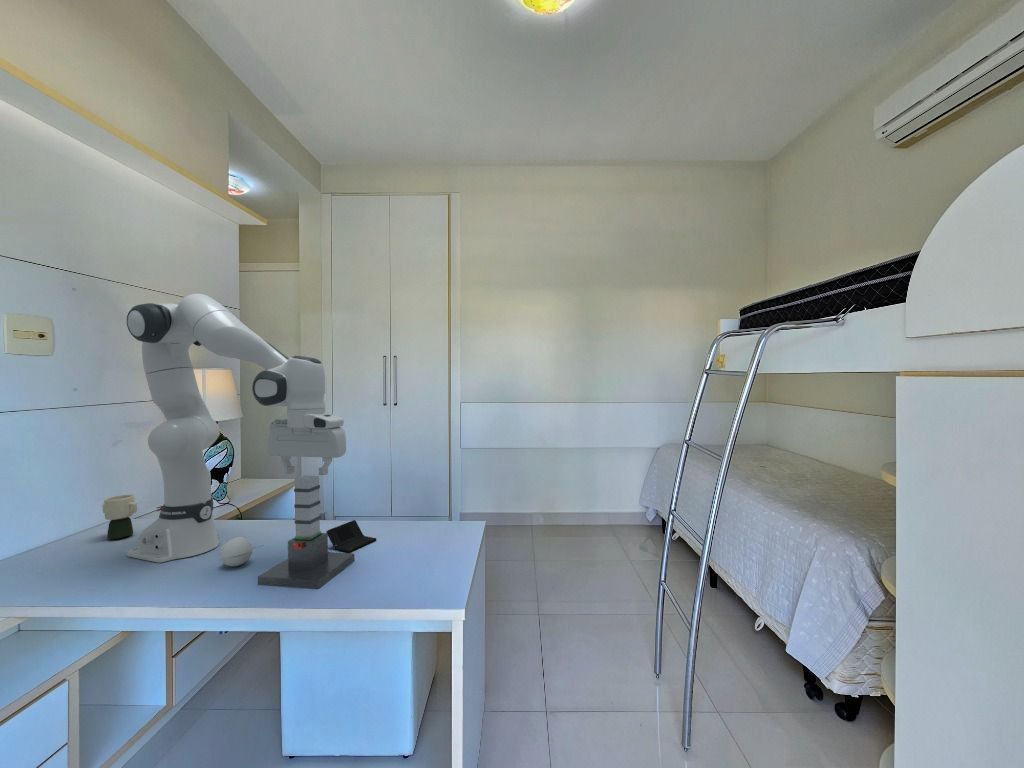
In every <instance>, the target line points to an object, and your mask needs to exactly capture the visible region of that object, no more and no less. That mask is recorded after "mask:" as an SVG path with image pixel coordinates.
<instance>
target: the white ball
mask: <svg viewBox="0 0 1024 768" xmlns="http://www.w3.org/2000/svg"><path fill="white" fill-rule="evenodd" d="M252 545H253V544H252V543H251V541H250V540H249V539H248V538H245V537H241V536H237V537H233V538H231V539H228V541H226V542H225V543H224V544H223V545H222V547H221V549H220V551H219V557H220V560H221V562H222V563H223V564H224V565H226V566H228V567H235V568H236V567H240V566H241V565H243V564H245V563H246V562H247V561H248V560H249V559H250V557H251V555H252V554H253V549H255V548H258V547H259V548H261V547H263V546H264V544H263V545H259V546H255V547H253V546H252Z"/></svg>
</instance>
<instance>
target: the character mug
mask: <svg viewBox="0 0 1024 768" xmlns="http://www.w3.org/2000/svg"><path fill="white" fill-rule="evenodd" d="M137 512H138V504H137V502H135V495H134V494H120V495H113V496H109V497H106V498H104V503H102V513H104V519H105V520H107V521H108V520H109V523H108V528H107V536H106V539H107V540H117V539H122V538H127V537H128V536H132V535H134V527H133V524H132V519H131V517H130V516H133V515H134V514H135V513H137Z"/></svg>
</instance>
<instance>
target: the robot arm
mask: <svg viewBox="0 0 1024 768" xmlns="http://www.w3.org/2000/svg"><path fill="white" fill-rule="evenodd" d="M126 326H127V329H128V332H129V333H130V335H131V336H132V337H133V338H134V339H135V340H137V341H139V342H141V357H142V358H141V359H142V365H143V371H144V374H145V377H146V381H147V386H148V389H149V392H150V396H151V397H150V398H151V400H152V402H153V403H154V405H155V406H156V407H158V408H159V410H160V411H161V412H162V414H163V416H164V417H165V419H166V421H163V422H161V423H160V424H158V425H157V426H155V427H154V428H153V429H152V430H151V431H150V432H149V435H148V437H147V445H148V448H149V450H150V451H151V452H152V453H153V455H155V457H156V458H157V461H158V465H159V467H160V470H161V471H160V472H161V473H162V479H163V501H164V503H163V505H160V506H157V507H156V512H159V516H158V518H157V519H155V520H154V521H153V522H151V524H150V525H148V526H147V527H146V528H145V529H143V530H142V531H141V532H140V534H139V537H138V546H136V547H134V548H132V549H131V550H129V551H128V552H127V557H129V558H133V559H138V560H143V561H149V562H153V563H165V562H168V561H172V560H177V559H183V558H184V559H185V558H189V557H193V556H196V555H197V556H198V555H201V554H204V553H206V552H209V551H212V550H214V549H215V548H217V547H218V546H219V544H220V542H219V535H217V530H216V524H215V523H216V522H215V520H214V519H215V517H214V514H213V511H214V503H215V502H214V498H213V497H212V478H211V477H212V475H211V471H210V469H209V468H208V467H207V463H206V462H205V461H206V460H205V457H204V453H203V451H204V450H207V449H208V448H210V447H211V446H212V445H213V444H214V443H216V441H217V440H218V438H219V436H220V426H219V425H218V423H217V422H216V420H214V419H213V417H212V415H211V414H210V411H209V409H208V407H207V404H206V403H205V401H204V399H203V397H202V395H201V392H200V389H199V386H198V385H199V384H198V382H197V379H196V375H195V372H194V368H193V364H192V360H191V358H190V353H189V349H190V347H191V345H192V344H193V345H195V346H198V347H200V346H201V347H204V348H205V349H207V350H208V351H210V352H211V353H212V354H215V355H217V356H220V357H225V358H230V359H236V360H241V361H244V362H249V363H253V364H255V365H258V366H260V367H261V368H263V369H264V370H262V371H260V372H258V373H257V374H256V375H255V377H254V379H253V381H252V386H251V387H252V389H251V391H252V394H253V397H254V399H255V401H257V402H258V403H259V404H260V405H261V406H266V407H269V408H270V407H286V408H287V409H286V419H278V418H276V419H274V420H273V421H272V422H271V423H270V424H269V433H268V438H267V439H268V440H267V449H266V450H267V453H268V455H269V456H271V457H272V456H273V457H274V456H276V457H280V462H281V463H282V465H283V467H284V473H285V474H287V475H289V474H291V475H292V474H294V473H296V472H295V468H296V467H295V466H296V465H292V462H291V459H292V457H298V458H299V457H303V458H305V457H306V458H321V459H322V462H323V464H322V466H321V467H318V476H319V475H320V476H326V475H328V474H329V467H330V465H331V463H332V461H333V459H338V458H341V457H343V456H344V455H345V454H346V453H347V439H346V438H347V437H346V432H345V430H344V429H343V427H342V426H344V422H345V421H344V418H342V417H340V416H338V415H335V414H332V413H329V412H326V404H325V401H324V399H325V394H326V375H325V368H324V365H323V363H322V361H320V360H319V359H317V358H315V357H309V356H302V355H294V356H290V357H288V356H286V355H285V354H284V353H282V352H281V351H280V350H278V349H277V348H276V347H275V346H274V345H272V344H271V343H270V342H268V341H267V340H265V339H264V338H262V337H261V336H260V335H259V334H257V333H256V332H254V331H253V330H251V328H249V327H248V326H247V325H245V323H243V322H242V321H241V320H240V319H239V318H238V317H236V316H235V315H234V314H233V313H232V312H231V311H230V310H229V309H227V308H226V307H225V306H224V305H222V303H219V302H218V301H217V300H215V299H214V298H212V297H210V296H209V295H207V294H202V293H191V294H188V295H186V296H185V297H183V298H182V299H181V300H180V301H179V302H172V303H170V302H169V303H168V302H167V303H152V302H148V303H142V304H137V305H134V306H133V307H131V308H130V310H129V311H128V312H127V315H126Z"/></svg>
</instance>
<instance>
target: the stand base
mask: <svg viewBox="0 0 1024 768" xmlns="http://www.w3.org/2000/svg"><path fill="white" fill-rule="evenodd" d="M328 540H329V537H328V533H326V532H321V535H320V536H319V537H317V538H315V539H314V540H312V541H300V540H295V537H293V538H291V539H290V540H288V541H287V558H286V559H284V560H283V561H281V562H279V563H278V564H276V565H274V566H273V567H271V568H269V569H267V570H266V571H264V572H262V573H261V574H260V575H258V576H257V585H258V586H269V587H283V588H285V587H286V588H299V589H311V590H312V589H313V590H319V589H321V588H322V587H323V586H324V585H325V584H327V583H328V582H329V581H330V580H332V579H334V578H335V577H336V576H337V575H338V574H340V573H341V572H342V571H344V570H345V569H346V568H348V566H350V565H351V564H353V563H354V562H355V553H354V552H352V553H344V552H334V551H333V552H330V551H329V544H328V543H329V541H328Z"/></svg>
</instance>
